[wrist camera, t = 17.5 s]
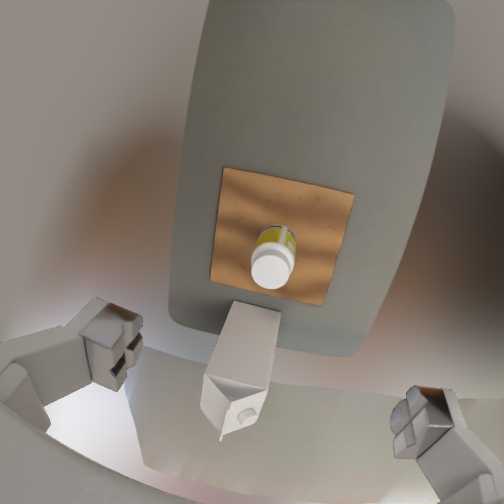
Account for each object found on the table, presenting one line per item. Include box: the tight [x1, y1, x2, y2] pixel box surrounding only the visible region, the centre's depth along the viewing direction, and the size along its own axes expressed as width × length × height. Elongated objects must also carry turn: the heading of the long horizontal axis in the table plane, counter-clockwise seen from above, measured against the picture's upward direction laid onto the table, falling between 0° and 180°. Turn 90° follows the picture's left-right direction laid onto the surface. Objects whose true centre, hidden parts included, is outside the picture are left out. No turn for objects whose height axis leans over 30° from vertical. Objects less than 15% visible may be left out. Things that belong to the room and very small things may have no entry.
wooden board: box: [210, 167, 355, 306], centre depth 40 cm, size 16×16×1 cm
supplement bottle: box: [251, 224, 296, 289], centre depth 36 cm, size 5×5×8 cm
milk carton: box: [200, 301, 281, 442], centre depth 38 cm, size 7×7×19 cm
